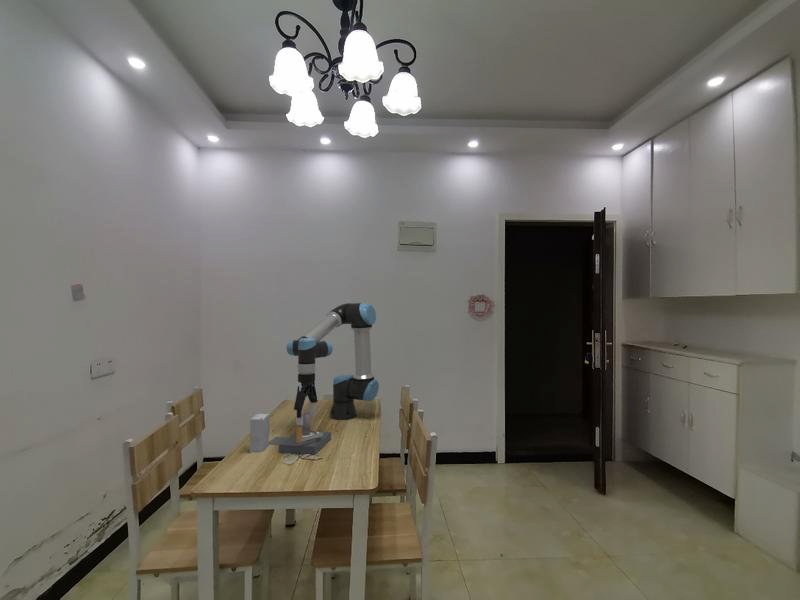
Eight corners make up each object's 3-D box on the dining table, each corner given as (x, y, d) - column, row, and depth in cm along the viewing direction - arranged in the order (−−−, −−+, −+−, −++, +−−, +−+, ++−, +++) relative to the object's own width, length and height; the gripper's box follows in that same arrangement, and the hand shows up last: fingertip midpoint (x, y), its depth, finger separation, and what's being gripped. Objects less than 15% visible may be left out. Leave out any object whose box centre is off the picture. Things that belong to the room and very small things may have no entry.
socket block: (298, 438, 188) (298, 426, 188) (330, 440, 185) (331, 427, 185) (279, 454, 168) (279, 440, 168) (314, 456, 166) (314, 442, 166)
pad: (276, 438, 189) (276, 436, 189) (295, 439, 187) (295, 437, 187) (265, 445, 179) (265, 443, 179) (286, 446, 177) (286, 445, 177)
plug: (302, 442, 181) (302, 411, 181) (316, 443, 180) (316, 412, 180) (295, 447, 174) (296, 415, 175) (310, 448, 173) (310, 416, 173)
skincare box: (256, 446, 177) (256, 413, 178) (269, 446, 177) (270, 413, 177) (249, 453, 169) (249, 418, 169) (263, 453, 169) (263, 418, 169)
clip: (291, 440, 168) (291, 425, 168) (318, 432, 178) (318, 419, 178) (298, 442, 165) (298, 428, 165) (325, 435, 175) (325, 421, 175)
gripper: (309, 368, 190) (308, 413, 190) (286, 377, 166) (285, 428, 165) (324, 369, 189) (323, 414, 188) (303, 377, 165) (302, 429, 164)
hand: (305, 420), depth 177 cm, fingers open, 13 cm apart
